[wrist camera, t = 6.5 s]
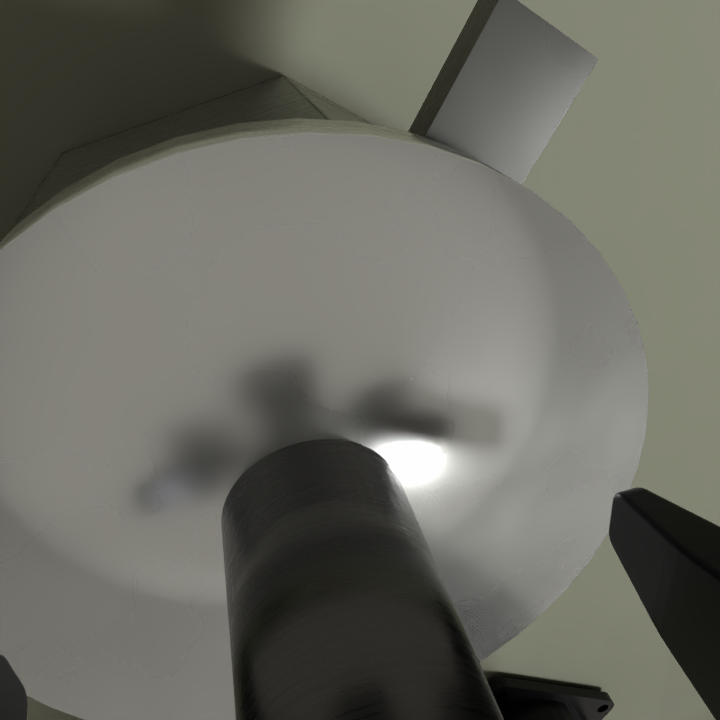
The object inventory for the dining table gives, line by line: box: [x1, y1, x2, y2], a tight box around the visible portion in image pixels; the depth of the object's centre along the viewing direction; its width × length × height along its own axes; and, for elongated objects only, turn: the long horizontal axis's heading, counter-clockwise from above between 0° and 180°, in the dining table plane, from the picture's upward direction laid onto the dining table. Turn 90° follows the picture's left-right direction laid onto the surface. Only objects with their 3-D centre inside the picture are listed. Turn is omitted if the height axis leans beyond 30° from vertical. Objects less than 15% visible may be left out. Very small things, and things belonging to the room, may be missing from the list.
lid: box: [0, 118, 649, 720], centre depth 10 cm, size 12×12×6 cm
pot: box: [10, 0, 598, 231], centre depth 14 cm, size 11×16×5 cm
